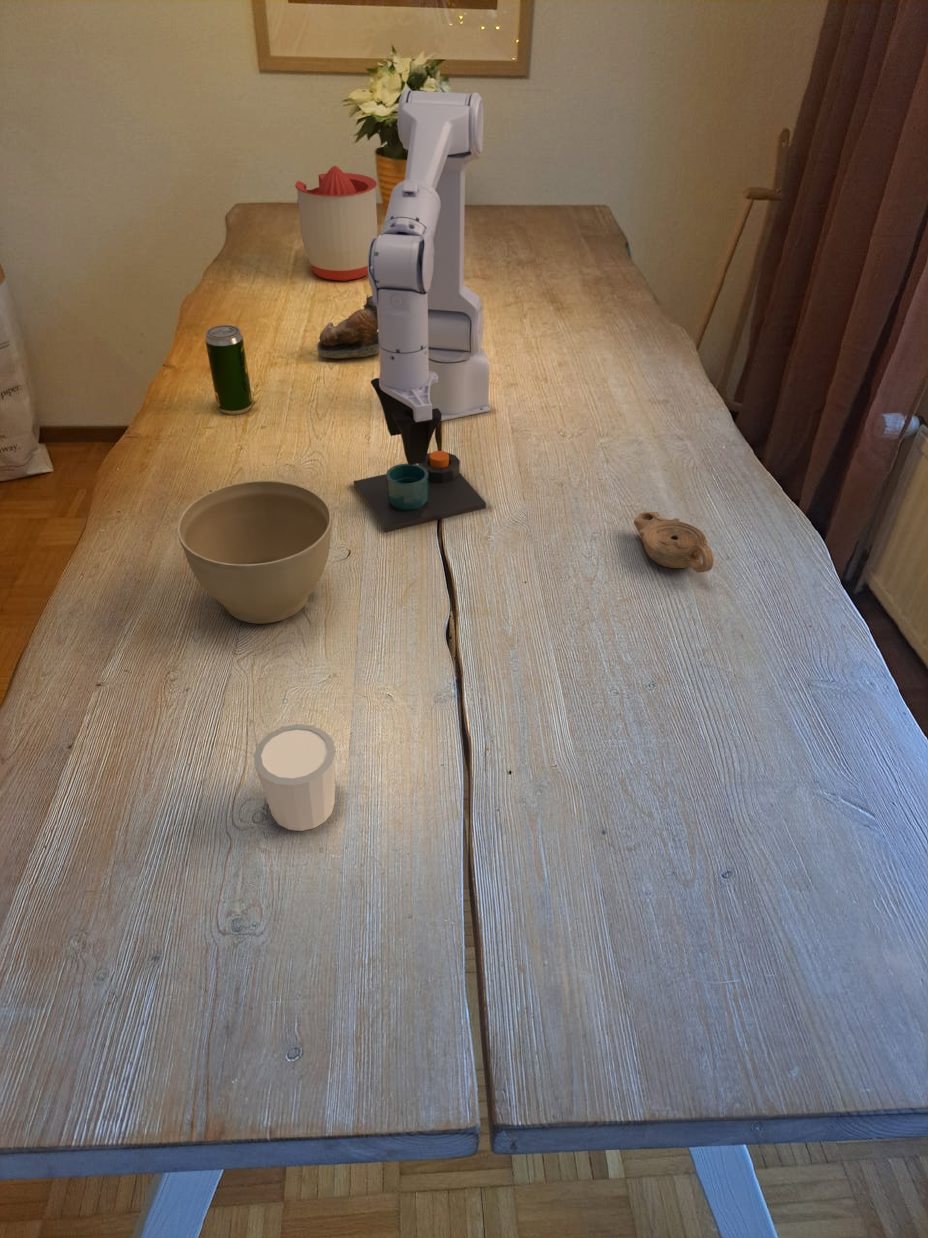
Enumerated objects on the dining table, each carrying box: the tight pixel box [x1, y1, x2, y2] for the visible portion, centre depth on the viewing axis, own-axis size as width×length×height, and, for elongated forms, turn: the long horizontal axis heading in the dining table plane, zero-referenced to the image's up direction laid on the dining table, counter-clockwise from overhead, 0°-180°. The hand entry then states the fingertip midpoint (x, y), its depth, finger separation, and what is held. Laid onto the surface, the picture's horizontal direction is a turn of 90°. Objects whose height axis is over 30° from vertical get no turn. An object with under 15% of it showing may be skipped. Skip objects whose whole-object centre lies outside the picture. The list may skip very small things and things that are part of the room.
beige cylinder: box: [253, 723, 337, 832], centre depth 79 cm, size 7×7×7 cm
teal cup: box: [385, 463, 429, 510], centre depth 117 cm, size 5×5×4 cm
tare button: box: [430, 450, 449, 468], centre depth 122 cm, size 3×3×1 cm
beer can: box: [204, 324, 253, 416], centre depth 136 cm, size 5×5×12 cm
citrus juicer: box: [294, 165, 378, 282], centre depth 179 cm, size 16×17×20 cm
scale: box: [352, 451, 487, 533], centre depth 120 cm, size 14×12×2 cm
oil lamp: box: [633, 511, 714, 573], centre depth 109 cm, size 13×8×5 cm, turn 23°
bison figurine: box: [316, 294, 379, 359], centre depth 151 cm, size 12×7×10 cm, turn 98°
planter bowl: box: [176, 479, 333, 624], centre depth 100 cm, size 16×16×11 cm
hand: (406, 447), depth 113 cm, fingers open, 7 cm apart
